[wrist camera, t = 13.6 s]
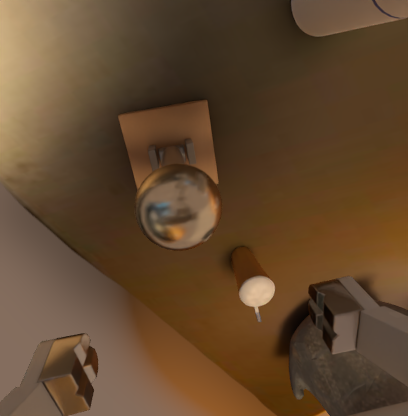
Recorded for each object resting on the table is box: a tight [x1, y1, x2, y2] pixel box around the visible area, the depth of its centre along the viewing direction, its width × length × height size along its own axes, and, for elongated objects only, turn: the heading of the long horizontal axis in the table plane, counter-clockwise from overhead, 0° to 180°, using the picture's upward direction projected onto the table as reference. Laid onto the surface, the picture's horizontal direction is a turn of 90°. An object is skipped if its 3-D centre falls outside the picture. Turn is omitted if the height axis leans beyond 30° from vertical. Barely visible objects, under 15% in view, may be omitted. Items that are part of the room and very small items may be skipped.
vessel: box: [289, 300, 408, 416], centre depth 45 cm, size 22×22×20 cm
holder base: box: [118, 99, 219, 189], centre depth 34 cm, size 10×10×4 cm
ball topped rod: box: [134, 144, 222, 251], centre depth 24 cm, size 21×5×5 cm
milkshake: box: [231, 247, 275, 322], centre depth 40 cm, size 5×5×10 cm
